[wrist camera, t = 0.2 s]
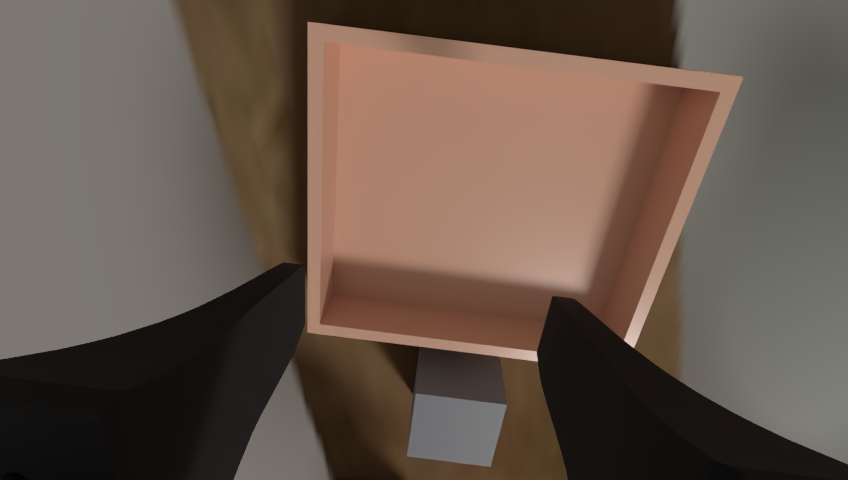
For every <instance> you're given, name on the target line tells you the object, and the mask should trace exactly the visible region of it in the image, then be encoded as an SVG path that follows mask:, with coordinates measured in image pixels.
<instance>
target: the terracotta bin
mask: <svg viewBox="0 0 848 480" xmlns="http://www.w3.org/2000/svg"><path fill="white" fill-rule="evenodd" d="M742 80H743V77H739V76H731V75H724V74H716V73H708V72H701V71H693V70H685V69H677V68H669V67H661V66H654V65H646V64H638V63H630V62H622V61H614V60H606V59H599V58H591V57H583V56H575V55H567V54H559V53H551V52H544V51H536V50H528V49H520V48H512V47H504V46H496V45H488V44H481V43H473V42H465V41H457V40H449V39H441V38H433V37H426V36H418V35H410V34H402V33H394V32H386V31H378V30H370V29H363V28H355V27H347V26H339V25H331V24H323V23H315V22H308V333H315V334H323V335H331V336H339V337H347V338H355V339H363V340H371V341H379V342H387V343H395V344H403V345H411V346H419V347H427V348H435V349H443V350H451V351H459V352H467V353H475V354H483V355H491V356H499V357H507V358H515V359H523V360H531V361H538V359H537V349H538V346H539V342H540V338H541V335H542V331H543V328H544V324H545V321H546V317H547V313H548V310H549V306H550V303H551V299H552V296H559V297H567V298H574V299H575V300H577V301H578V302H579V303H581V304H582V305H583V306H584V307H585V308H587V309H588V310H589V311H590V312H591V313H592V314H594V315H595V316H596V317H597V318H598V319H599V320H601V321H602V322H603V323H604V324H605V325H606V326H608V327H609V328H610V329H611V330H612V331H613V332H615V333H616V334H617V335H618V336H619V337H620V338H622V339H623V340H624V341H625V342H627V343H628V344H629V345H630V346H632V347H633V348H634V347H635V344H636V342H637V339H638V337H639V334H640V332H641V329H642V327H643V324H644V322H645V319H646V317H647V315H648V312H649V310H650V307H651V305H652V302H653V300H654V297H655V295H656V292H657V290H658V287H659V285H660V282H661V280H662V277H663V275H664V273H665V270H666V268H667V265H668V263H669V260H670V258H671V255H672V253H673V250H674V248H675V245H676V243H677V240H678V238H679V235H680V233H681V231H682V228H683V226H684V223H685V221H686V218H687V216H688V213H689V211H690V208H691V206H692V203H693V201H694V198H695V196H696V193H697V191H698V189H699V186H700V184H701V181H702V179H703V176H704V174H705V171H706V169H707V166H708V164H709V161H710V159H711V156H712V154H713V151H714V149H715V146H716V144H717V142H718V139H719V137H720V134H721V132H722V129H723V127H724V124H725V122H726V119H727V117H728V114H729V112H730V109H731V107H732V104H733V102H734V100H735V97H736V94H737V92H738V90H739V87H740V85H741V82H742Z"/></svg>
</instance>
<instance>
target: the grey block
mask: <svg viewBox="0 0 848 480" xmlns="http://www.w3.org/2000/svg"><path fill="white" fill-rule="evenodd" d="M506 407H507V402H506V396H505V389H504V383H503V377H502V370H501V364H500V358H499V356H491V355H483V354H475V353H467V352H459V351H451V350H443V349H435V348H427V347H420V348H419V356H418V363H417V370H416V377H415V385H414V392H413V401H412V411H411V421H410V431H409V441H408V450H407V456H409V457H417V458H425V459H433V460H441V461H449V462H457V463H465V464H473V465H481V466H489V467H491V463H492V459H493V455H494V452H495V448H496V444H497V440H498V437H499V433H500V429H501V425H502V422H503V418H504V414H505V410H506Z"/></svg>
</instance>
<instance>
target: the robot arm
mask: <svg viewBox="0 0 848 480" xmlns="http://www.w3.org/2000/svg"><path fill="white" fill-rule="evenodd" d="M304 325H305V265H300V264H292V263H282V264H279V265H277V266H275V267H274V268H272V269H270V270H268V271H266V272H265V273H263V274H261V275H259V276H257V277H256V278H254V279H252V280H250V281H248V282H247V283H245V284H243V285H241V286H239V287H237V288H236V289H234V290H232V291H230V292H228V293H226V294H224V295H222V296H220V297H218V298H216V299H214V300H212V301H210V302H207V303H206V304H203V305H201V306H200V307H197V308H195V309H192V310H190V311H188V312H185V313H183V314H180V315H178V316H175V317H173V318H170V319H167V320H164V321H162V322H159V323H156V324H153V325H150V326H147V327H143V328H140V329H137V330H134V331H130V332H127V333H124V334H121V335H117V336H114V337H110V338H106V339H103V340H98V341H95V342H90V343H86V344H81V345H77V346H73V347H68V348H64V349H59V350H54V351H48V352H42V353H36V354H31V355H25V356H19V357H14V358H8V359H1V360H0V480H233V479H234V476H235V474H236V472H237V469H238V466H239V464H240V461H241V459H242V456H243V454H244V452H245V449H246V447H247V444H248V442H249V440H250V437H251V435H252V432H253V430H254V428H255V426H256V424H257V422H258V420H259V418H260V416H261V414H262V412H263V410H264V408H265V406H266V405H267V403H268V401H269V399H270V397H271V395H272V393H273V392H274V390H275V388H276V386H277V384H278V382H279V381H280V379H281V377H282V375H283V373H284V371H285V369H286V367H287V365H288V364H289V362H290V360H291V358H292V356H293V354H294V352H295V349H296V347H297V344H298V342H299V339H300V336H301V333H302V330H303V328H304ZM537 359H538V366H539V373H540V379H541V384H542V388H543V392H544V395H545V398H546V402H547V405H548V409H549V412H550V415H551V419H552V422H553V425H554V429H555V432H556V435H557V439H558V442H559V445H560V449H561V452H562V456H563V460H564V464H565V468H566V472H567V477H568V480H848V465H847V464H845V463H843V462H840V461H838V460H835V459H833V458H831V457H828V456H826V455H824V454H821V453H819V452H816V451H814V450H812V449H809V448H807V447H804V446H802V445H799V444H797V443H795V442H792V441H790V440H788V439H786V438H784V437H781V436H779V435H777V434H775V433H773V432H771V431H769V430H767V429H765V428H763V427H760V426H758V425H756V424H754V423H752V422H750V421H748V420H746V419H744V418H742V417H741V416H739V415H737V414H735V413H733V412H731V411H729V410H727V409H725V408H724V407H722V406H720V405H718V404H717V403H715V402H713V401H711V400H710V399H708V398H706V397H704V396H703V395H701V394H699V393H697V392H696V391H694V390H692V389H691V388H689V387H688V386H686V385H685V384H683V383H682V382H680V381H679V380H677V379H676V378H674V377H673V376H671V375H669V374H668V373H666V372H665V371H664V370H662V369H661V368H659V367H658V366H656V365H655V364H654V363H652V362H651V361H650V360H648V359H647V358H646V357H644V356H643V355H642V354H641V353H639V352H638V351H637V350H635V349H634V348H633V347H632V346H630V345H629V344H628V343H627V342H625V341H624V340H623V339H622V338H620V337H619V336H618V335H617V334H616V333H615V332H613V331H612V330H611V329H610V328H609V327H608V326H606V325H605V324H604V323H603V322H602V321H601V320H599V319H598V318H597V317H596V316H595V315H594V314H592V313H591V312H590V311H589V310H588V309H587V308H585V307H584V306H583V305H582V304H581V303H579V302H578V301H577V300H575V299H574V298H567V297H559V296H552V299H551V303H550V306H549V310H548V313H547V317H546V321H545V324H544V328H543V331H542V335H541V338H540V342H539V346H538V349H537Z"/></svg>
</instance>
